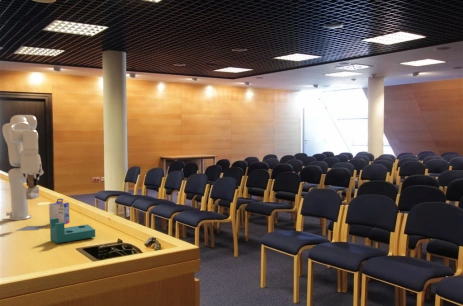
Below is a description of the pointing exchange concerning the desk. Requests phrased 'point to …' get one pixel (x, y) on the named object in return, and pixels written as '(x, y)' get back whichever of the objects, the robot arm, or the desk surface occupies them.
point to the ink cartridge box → (59, 211)
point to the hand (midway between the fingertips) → (32, 185)
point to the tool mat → (31, 228)
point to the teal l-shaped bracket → (69, 232)
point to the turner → (31, 189)
